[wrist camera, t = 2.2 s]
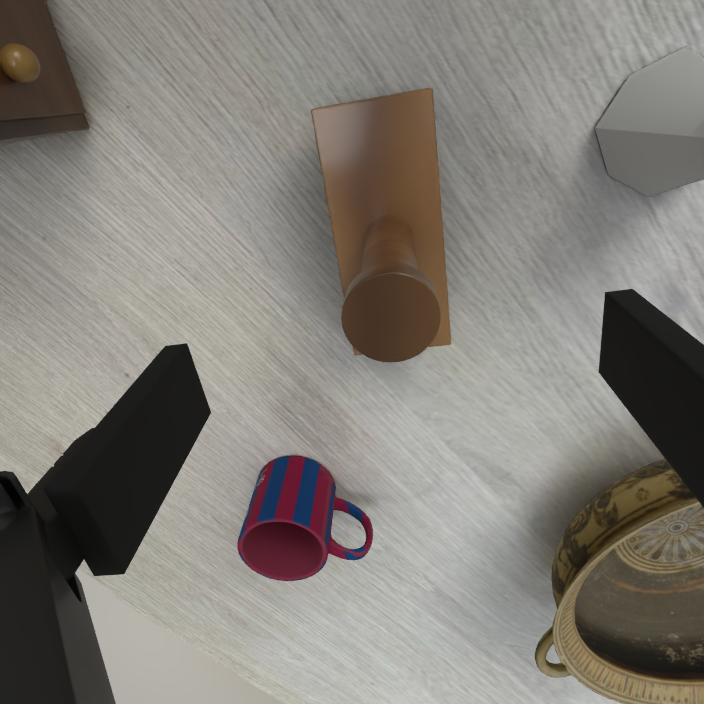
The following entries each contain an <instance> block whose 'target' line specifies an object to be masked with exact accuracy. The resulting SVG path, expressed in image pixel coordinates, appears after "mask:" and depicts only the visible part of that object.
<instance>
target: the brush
mask: <svg viewBox="0 0 704 704" xmlns="http://www.w3.org/2000/svg"><path fill="white" fill-rule="evenodd" d="M311 113H312V119H313V125H314V130H315V136H316V142H317V147H318V153H319V158H320V164H321V170H322V175H323V181H324V187H325V192H326V198H327V203H328V209H329V215H330V220H331V226H332V232H333V237H334V243H335V248H336V254H337V260H338V265H339V271H340V277H341V282H342V288H343V294H344V302H343V308H342V316H341V320H342V326H343V330H344V333H345V335H346V337H347V339H348V340H349V342H350V343H351V344H352V346H353V350H354V355H362V354H363V355H365V356H367V357H369V358H371V359H374V360H377V361H382V362H399V361H404V360H407V359H410V358H412V357H415V356H416V355H418V354H420V353H421V352H423V351H424V350H425V349H426V348H427V347H433V346H442V345H450V344H451V334H450V320H449V307H448V293H447V279H446V266H445V252H444V238H443V225H442V211H441V197H440V184H439V170H438V157H437V143H436V129H435V116H434V102H433V89H432V88H425V89H419V90H414V91H408V92H402V93H397V94H391V95H386V96H380V97H374V98H369V99H363V100H357V101H352V102H346V103H341V104H335V105H329V106H324V107H318V108H315V109H312V110H311Z"/></svg>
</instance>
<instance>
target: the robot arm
mask: <svg viewBox="0 0 704 704" xmlns="http://www.w3.org/2000/svg"><path fill="white" fill-rule="evenodd" d="M599 373H600V374H601V376H602V377H603V378H604V380H605V381H606V382H607V384H608V385H609V386H610V387H611V389H612V390H613V391H614V393H615V394H616V395H617V396H618V398H619V399H620V400H621V402H622V403H623V404H624V406H625V407H626V408H627V409H628V411H629V412H630V413H631V415H632V416H633V417H634V418H635V420H636V421H637V422H638V424H639V425H640V426H641V428H642V429H643V430H644V431H645V433H646V434H647V435H648V437H649V438H650V439H651V440H652V442H653V443H654V444H655V446H656V447H657V448H658V450H659V451H660V452H661V453H662V455H663V456H664V457H665V459H666V460H667V461H668V462H669V464H670V465H671V466H672V468H673V469H674V470H675V472H676V473H677V474H678V475H679V477H680V478H681V479H682V481H683V482H684V483H685V484H686V486H687V487H688V488H689V490H690V491H691V492H692V494H693V495H694V496H695V497H696V499H697V500H698V501H699V503H700V504H701V505H702V506H703V508H704V345H703V344H702V343H700V342H699V341H698V340H697V339H695V338H694V337H693V336H692V335H690V334H689V333H688V332H686V331H685V330H684V329H683V328H681V327H680V326H679V325H678V324H676V323H675V322H674V321H673V320H671V319H670V318H669V317H667V316H666V315H665V314H664V313H662V312H661V311H660V310H659V309H657V308H656V307H655V306H653V305H652V304H651V303H650V302H648V301H647V300H646V299H645V298H643V297H642V296H641V295H639V294H638V293H637V292H636V291H634V290H633V289H628V290H620V291H612V292H605V301H604V314H603V326H602V338H601V351H600V363H599ZM210 413H211V411H210V408H209V405H208V402H207V399H206V397H205V394H204V391H203V388H202V385H201V382H200V379H199V376H198V374H197V371H196V368H195V365H194V362H193V359H192V356H191V353H190V351H189V348H188V345H187V344H179V345H170V346H165V347H164V348H163V349H162V350H161V352H160V353H159V354H158V355H157V356H156V357H155V359H154V360H153V361H152V362H151V363H150V364H149V366H148V367H147V368H146V369H145V370H144V371H143V373H142V374H141V375H140V376H139V377H138V378H137V380H136V381H135V382H134V383H133V384H132V385H131V387H130V388H129V389H128V390H127V391H126V392H125V394H124V395H123V396H122V397H121V398H120V399H119V401H118V402H117V403H116V404H115V405H114V406H113V408H112V409H111V410H110V411H109V412H108V413H107V414H106V416H105V417H104V418H103V419H102V420H101V421H100V423H99V424H98V425H97V426H96V427H95V428H92V429H90V430H89V431H87V432H86V433H85V434H83V435H82V436H80V437H79V438H78V439H76V440H75V441H74V442H73V443H72V444H71V445H70V447H69V448H68V449H67V450H66V451H65V452H64V453H63V454H64V455H63V456H61V457H60V458H59V459H58V460H57V461H56V462H55V464H54V467H51V468H50V469H49V470H48V471H47V473H46V474H45V475H44V476H43V477H42V478H41V479H40V480H39V482H38V483H37V484H36V485H35V486H34V487H33V488H32V490H31V491H30V492H29V493H28V494H27V493H26V492H25V490H24V488H23V487H22V485H21V483H20V482H19V480H18V479H17V477H16V476H15V474H14V473H13V472H8V471H2V472H0V704H115V700H114V696H113V693H112V689H111V686H110V683H109V679H108V676H107V672H106V669H105V665H104V661H103V658H102V654H101V652H100V647H99V644H98V640H97V637H96V634H95V630H94V626H93V623H92V619H91V616H90V613H89V609H88V606H87V602H86V598H85V595H84V591H83V588H82V585H81V582H80V580H79V579H78V577H77V575H76V574H75V572H76V570H77V569H78V567H79V566H80V564H81V563H82V561H83V559H85V561H86V563H87V565H88V566H89V568H90V570H91V571H92V573H93V575H94V576H102V575H118V574H124V573H125V572H126V570H127V568H128V566H129V564H130V562H131V560H132V559H133V557H134V555H135V553H136V551H137V549H138V547H139V546H140V544H141V542H142V540H143V538H144V536H145V534H146V533H147V531H148V529H149V527H150V525H151V523H152V521H153V519H154V518H155V516H156V514H157V512H158V510H159V508H160V506H161V505H162V503H163V501H164V499H165V497H166V495H167V493H168V492H169V490H170V488H171V486H172V484H173V482H174V480H175V479H176V477H177V475H178V473H179V471H180V469H181V467H182V465H183V464H184V462H185V460H186V458H187V456H188V454H189V452H190V451H191V449H192V447H193V445H194V443H195V441H196V439H197V438H198V436H199V434H200V432H201V430H202V428H203V426H204V425H205V423H206V421H207V419H208V417H209V415H210Z"/></svg>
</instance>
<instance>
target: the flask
mask: <svg viewBox="0 0 704 704" xmlns="http://www.w3.org/2000/svg"><path fill="white" fill-rule="evenodd" d="M595 130H596V133H597V137H598V140H599V144H600V148H601V151H602V155H603V158H604V162H605V165H606V169H607V172H608V175H609V176H611V177H612V178H614V179H616V180H618V181H620V182H621V183H623V184H625V185H627V186H629V187H630V188H632V189H634V190H636V191H638V192H640V193H641V194H643V195H645V196H647V197H650V196H653V195H657V194H660V193H663V192H665V191H668V190H671V189H674V188H677V187H680V186H683V185H686V184H689V183H693V182H696V181H700V180H703V179H704V57H703V56H701V55H700V54H698V53H696V52H695V51H693V50H692V49H690V48H688V47H687V46H685V47H683V48H681V49H679V50H677V51H675V52H673V53H671V54H669V55H667V56H666V57H664V58H662V59H660V60H658V61H656V62H654V63H652V64H650V65H648V66H646V67H644V68H643V69H641V70H639V71H637V72H635V73H633V74H631V75H629V77H628V78H627V80H626V81H625V83H624V84H623V86H622V87H621V89H620V90H619V92H618V94H617V95H616V97H615V98H614V100H613V101H612V103H611V104H610V106H609V107H608V109H607V110H606V112H605V113H604V115H603V117H602V118H601V120H600V121H599V123H598V124H597V126H596V127H595Z"/></svg>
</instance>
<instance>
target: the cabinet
mask: <svg viewBox="0 0 704 704" xmlns="http://www.w3.org/2000/svg"><path fill="white" fill-rule="evenodd" d="M84 113H86V111H85V109H84V106H83V103H82V101H81V98H80V95H79V92H78V90H77V87H76V84H75V82H74V79H73V76H72V73H71V71H70V68H69V65H68V63H67V60H66V57H65V54H64V52H63V49H62V46H61V44H60V41H59V38H58V35H57V33H56V30H55V27H54V25H53V22H52V19H51V17H50V14H49V11H48V8H47V6H46V3H45V0H0V145H3V144H8V143H14V142H19V141H25V140H30V139H36V138H41V137H47V136H52V135H57V134H63V133H68V132H74V131H79V130H85V129H88V128H89V127H88V124H87V121H86V118H85V116H84Z"/></svg>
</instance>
